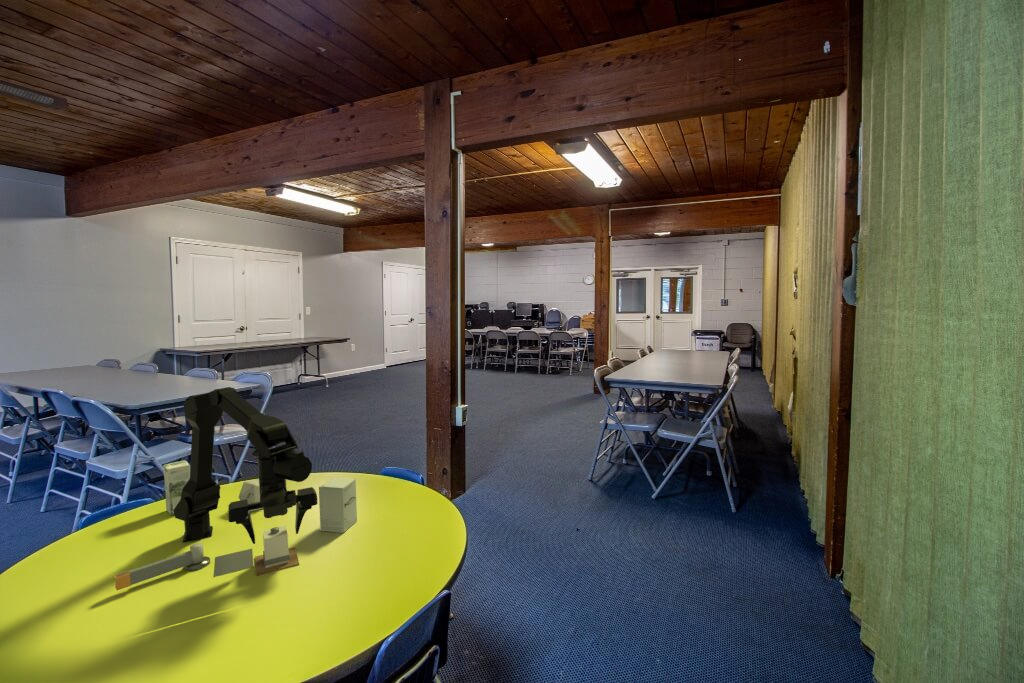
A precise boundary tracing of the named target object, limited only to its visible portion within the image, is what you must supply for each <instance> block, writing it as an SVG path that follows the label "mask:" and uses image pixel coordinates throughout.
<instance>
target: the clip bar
mask: <svg viewBox="0 0 1024 683" xmlns="http://www.w3.org/2000/svg"><path fill="white" fill-rule="evenodd" d="M204 554H205V552H204V544H203V542H196V543H193V544H191V545H190V546H189V550H188V551H185V552H182V553H179V554H176V555H173V556H169V557H168V558H163V559H161V560H158V561H154V562H151V563H149V564H146V565H143V566H140V567H137V568H134V569H130V570H126V571H123V572H120V573H117V574H114V584H115V587H114V588H115V590H116V591H120V590H123V589H126V588H128V587H131V586H132V585H133V586H134V585H136V584H139V583H141V582H144V581H146V580H150V579H153V578H156V577H159V576H161V575H164V574H167V573H170V572H174V571H176V570H179V569H181V568H184V567H185V566H187V565H190V564H196V563H200V562H202V561H203V560H204Z"/></svg>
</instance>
